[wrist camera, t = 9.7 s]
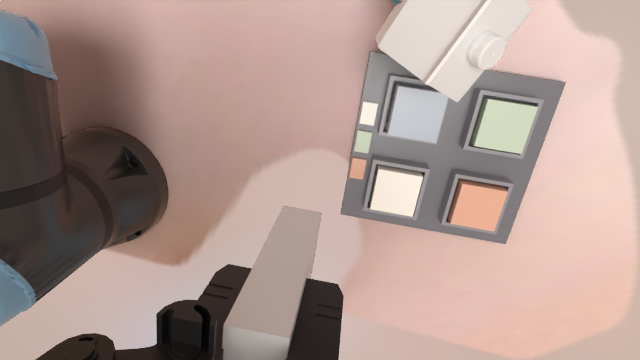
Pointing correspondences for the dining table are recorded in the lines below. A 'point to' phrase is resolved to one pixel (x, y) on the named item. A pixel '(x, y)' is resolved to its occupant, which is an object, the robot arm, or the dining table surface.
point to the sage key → (503, 125)
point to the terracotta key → (476, 204)
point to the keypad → (444, 148)
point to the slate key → (416, 113)
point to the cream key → (395, 190)
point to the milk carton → (450, 39)
